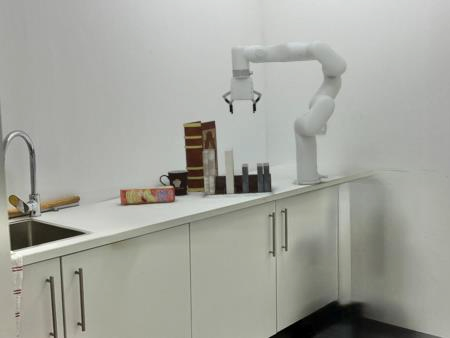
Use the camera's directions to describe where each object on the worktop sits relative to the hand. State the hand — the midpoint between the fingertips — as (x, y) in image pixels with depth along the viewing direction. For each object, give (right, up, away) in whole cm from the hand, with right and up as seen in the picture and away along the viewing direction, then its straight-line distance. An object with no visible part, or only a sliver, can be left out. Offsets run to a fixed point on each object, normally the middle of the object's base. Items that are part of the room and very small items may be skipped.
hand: (243, 113), depth 275 cm
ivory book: (-4, -34, -12) cm, 36 cm away
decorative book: (-19, -33, +9) cm, 39 cm away
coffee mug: (-28, -36, -8) cm, 46 cm away
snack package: (-36, -38, -25) cm, 58 cm away
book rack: (-1, -35, -11) cm, 37 cm away
